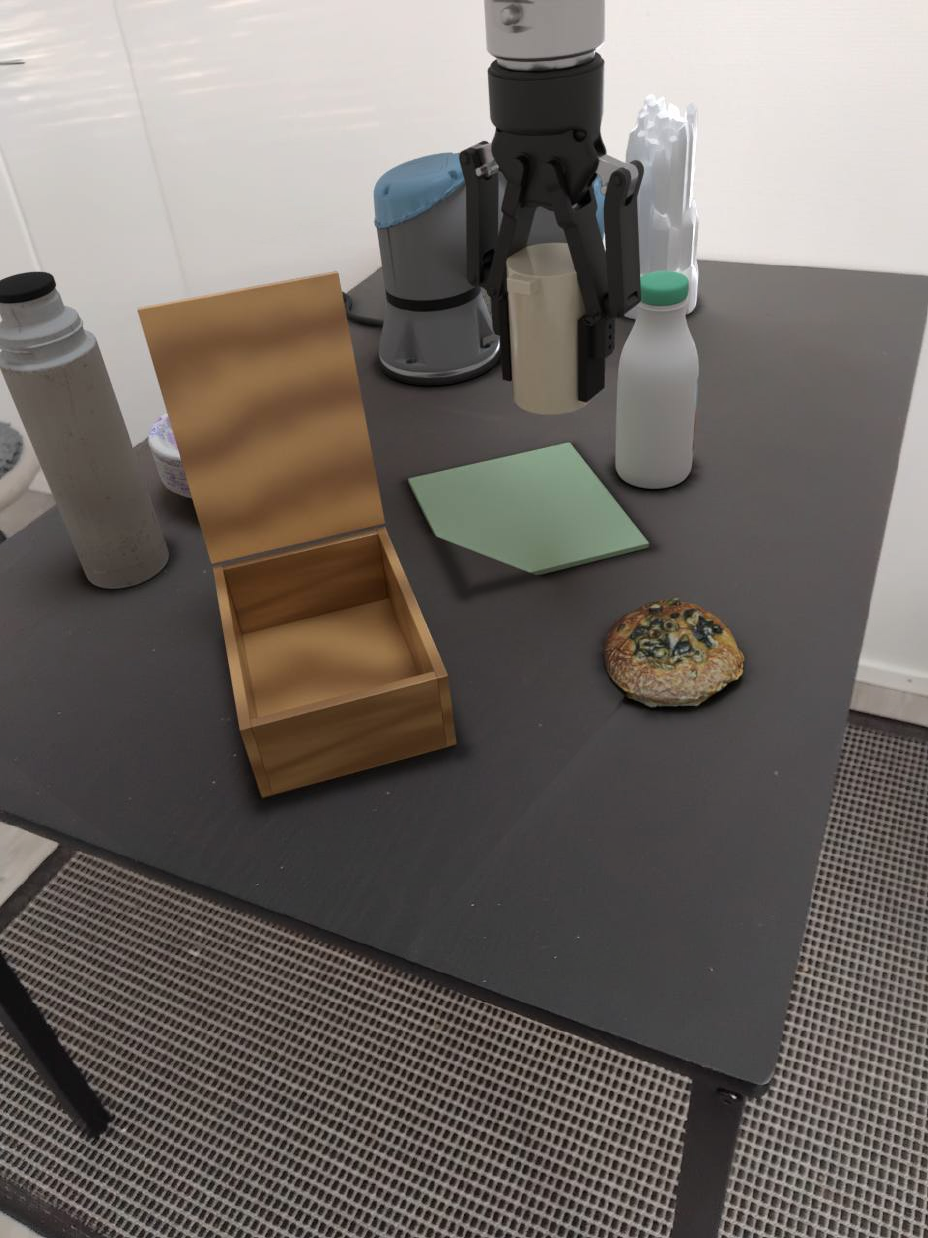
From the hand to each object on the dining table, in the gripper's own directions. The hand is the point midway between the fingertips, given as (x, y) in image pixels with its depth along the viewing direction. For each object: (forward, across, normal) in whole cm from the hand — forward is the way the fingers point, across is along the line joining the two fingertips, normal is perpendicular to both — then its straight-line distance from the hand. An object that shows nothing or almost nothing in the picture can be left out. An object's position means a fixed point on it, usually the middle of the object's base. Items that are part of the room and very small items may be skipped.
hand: (552, 383), depth 78 cm
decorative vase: (+19, -20, +56) cm, 62 cm away
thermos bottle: (+19, -36, -21) cm, 46 cm away
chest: (+18, -6, -23) cm, 30 cm away
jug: (+1, 0, 0) cm, 1 cm away
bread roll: (+18, +15, -6) cm, 24 cm away
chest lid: (0, -15, -16) cm, 22 cm away
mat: (+18, -8, +5) cm, 21 cm away
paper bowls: (+19, -37, -6) cm, 42 cm away
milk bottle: (+19, 0, +18) cm, 26 cm away
